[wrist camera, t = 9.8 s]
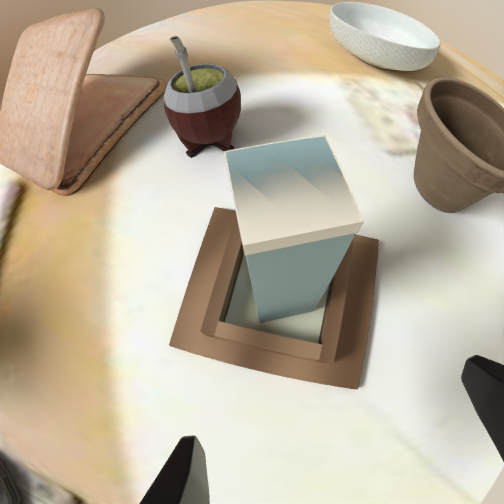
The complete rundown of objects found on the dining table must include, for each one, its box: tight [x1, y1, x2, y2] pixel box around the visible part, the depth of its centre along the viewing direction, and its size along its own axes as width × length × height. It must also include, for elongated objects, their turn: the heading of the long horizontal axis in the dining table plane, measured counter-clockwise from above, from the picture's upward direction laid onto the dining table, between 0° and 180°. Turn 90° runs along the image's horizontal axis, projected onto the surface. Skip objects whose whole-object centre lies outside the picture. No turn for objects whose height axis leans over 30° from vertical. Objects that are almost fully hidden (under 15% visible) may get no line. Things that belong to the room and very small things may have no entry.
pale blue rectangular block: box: [224, 135, 364, 323], centre depth 17 cm, size 4×4×13 cm
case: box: [0, 8, 166, 195], centre depth 27 cm, size 20×21×16 cm
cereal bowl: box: [329, 2, 440, 71], centre depth 34 cm, size 17×17×7 cm
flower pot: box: [414, 77, 504, 212], centre depth 22 cm, size 12×11×10 cm
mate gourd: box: [163, 36, 241, 158], centre depth 23 cm, size 8×8×15 cm
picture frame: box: [169, 207, 378, 389], centre depth 22 cm, size 14×12×2 cm
